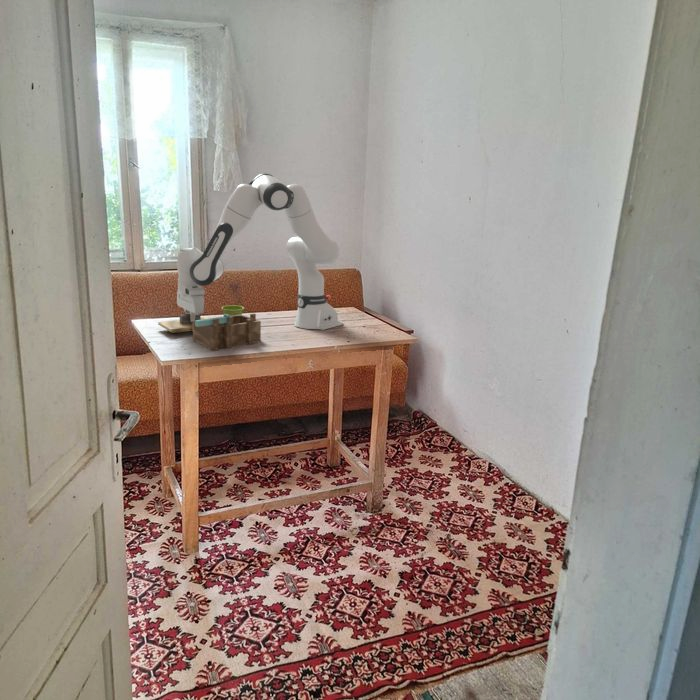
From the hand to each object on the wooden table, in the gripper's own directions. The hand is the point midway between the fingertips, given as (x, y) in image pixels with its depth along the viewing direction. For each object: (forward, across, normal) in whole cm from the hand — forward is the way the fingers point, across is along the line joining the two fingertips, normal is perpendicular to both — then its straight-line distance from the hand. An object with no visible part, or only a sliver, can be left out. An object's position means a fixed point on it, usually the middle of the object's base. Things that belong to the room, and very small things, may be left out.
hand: (190, 320), depth 248 cm
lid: (+3, +2, 0) cm, 3 cm away
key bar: (-6, +31, -4) cm, 32 cm away
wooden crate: (+4, +23, +6) cm, 24 cm away
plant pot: (+5, +2, +18) cm, 19 cm away
